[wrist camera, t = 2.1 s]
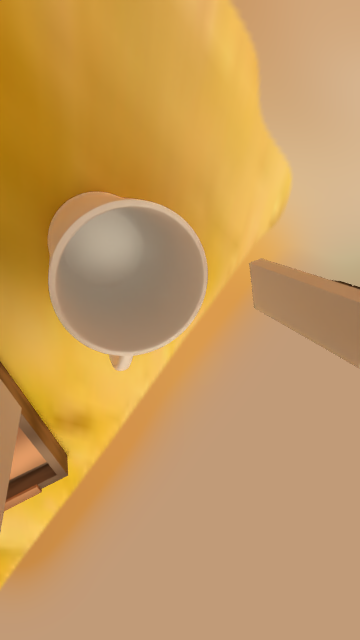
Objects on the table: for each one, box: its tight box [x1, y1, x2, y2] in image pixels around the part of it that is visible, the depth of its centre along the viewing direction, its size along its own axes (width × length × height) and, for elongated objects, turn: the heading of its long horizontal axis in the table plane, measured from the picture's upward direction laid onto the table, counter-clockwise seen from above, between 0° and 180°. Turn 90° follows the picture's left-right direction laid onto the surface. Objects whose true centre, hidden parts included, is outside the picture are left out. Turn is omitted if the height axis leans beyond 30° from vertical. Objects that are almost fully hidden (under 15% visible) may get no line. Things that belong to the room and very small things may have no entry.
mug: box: [48, 192, 208, 371], centre depth 19 cm, size 12×8×12 cm
